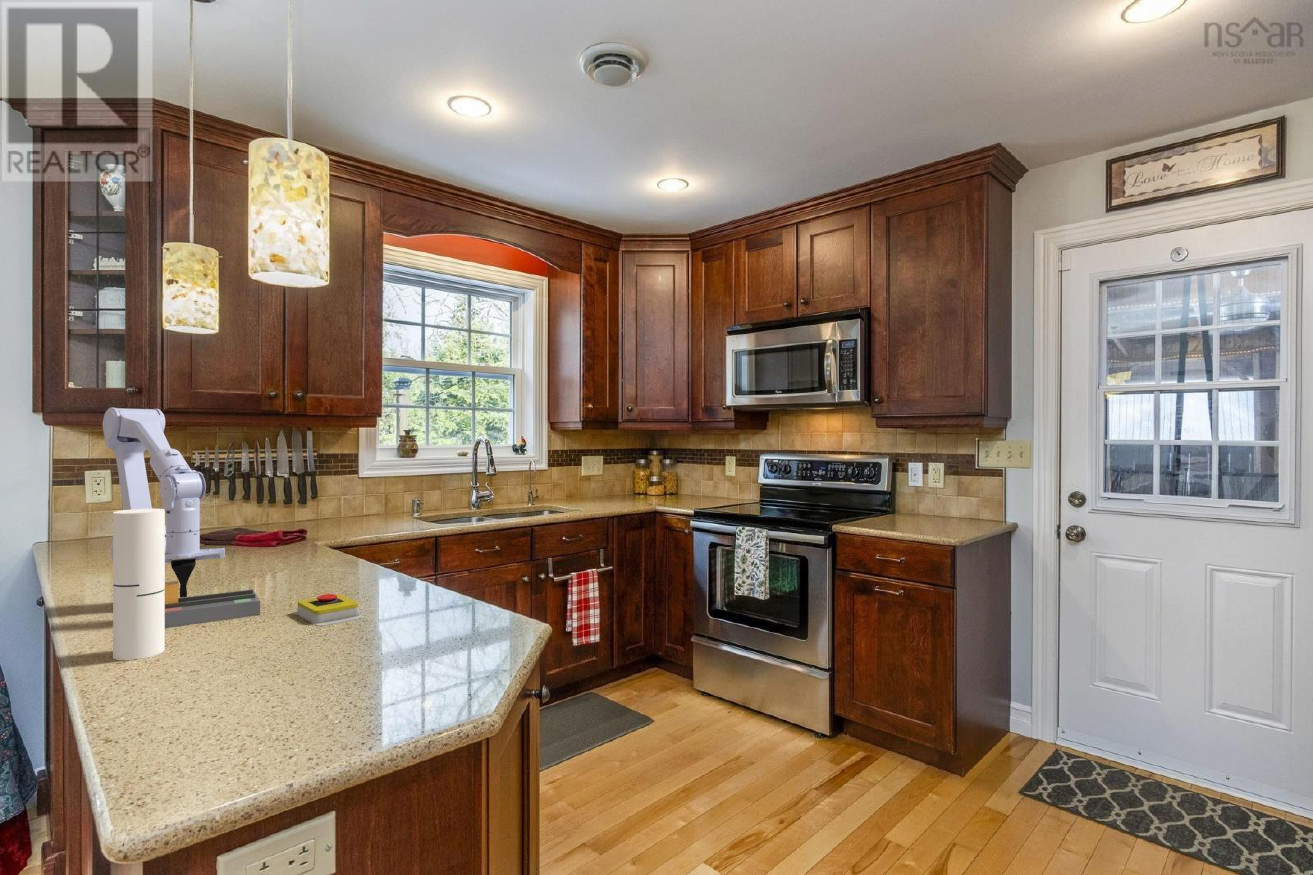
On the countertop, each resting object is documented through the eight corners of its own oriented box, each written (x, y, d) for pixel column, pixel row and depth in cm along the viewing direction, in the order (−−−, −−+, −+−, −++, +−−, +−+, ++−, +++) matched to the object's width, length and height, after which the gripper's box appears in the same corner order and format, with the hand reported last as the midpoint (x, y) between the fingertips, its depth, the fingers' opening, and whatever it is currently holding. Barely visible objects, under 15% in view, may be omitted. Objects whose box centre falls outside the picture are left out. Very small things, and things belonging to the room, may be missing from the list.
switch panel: (154, 615, 141) (154, 597, 141) (253, 602, 151) (253, 586, 151) (153, 629, 131) (153, 610, 131) (260, 614, 142) (260, 597, 142)
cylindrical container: (121, 649, 119) (121, 509, 119) (169, 645, 122) (169, 508, 121) (106, 662, 112) (106, 514, 112) (158, 657, 115) (158, 512, 115)
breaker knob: (160, 604, 138) (160, 582, 138) (177, 602, 139) (177, 581, 139) (159, 607, 135) (160, 585, 135) (178, 605, 137) (178, 583, 137)
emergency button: (337, 587, 151) (365, 599, 140) (337, 606, 151) (365, 620, 140) (293, 594, 144) (318, 607, 134) (293, 614, 144) (318, 629, 134)
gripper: (138, 536, 131) (138, 605, 131) (226, 530, 140) (226, 595, 140) (139, 532, 137) (139, 598, 137) (223, 526, 145) (223, 588, 145)
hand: (183, 596), depth 139 cm, fingers closed
